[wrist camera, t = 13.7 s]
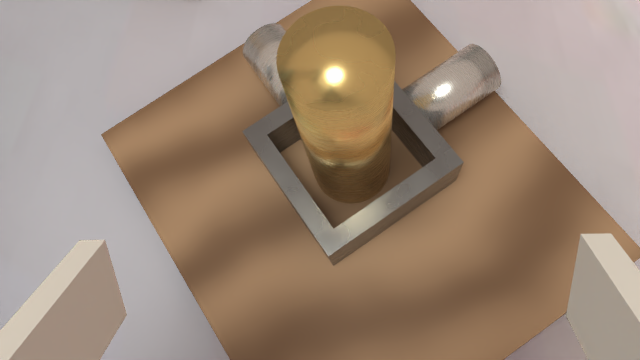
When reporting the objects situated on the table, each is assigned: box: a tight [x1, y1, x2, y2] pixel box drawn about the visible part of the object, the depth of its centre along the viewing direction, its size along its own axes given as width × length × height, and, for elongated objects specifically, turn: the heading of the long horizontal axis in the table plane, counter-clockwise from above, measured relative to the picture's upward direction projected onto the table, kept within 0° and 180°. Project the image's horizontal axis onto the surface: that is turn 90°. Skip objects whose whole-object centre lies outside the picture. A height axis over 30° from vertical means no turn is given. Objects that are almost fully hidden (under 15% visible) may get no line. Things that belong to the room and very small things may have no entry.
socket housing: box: [242, 23, 501, 266], centre depth 30 cm, size 13×13×3 cm
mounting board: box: [101, 0, 640, 360], centre depth 31 cm, size 24×21×1 cm
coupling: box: [276, 6, 396, 203], centre depth 25 cm, size 4×4×12 cm
